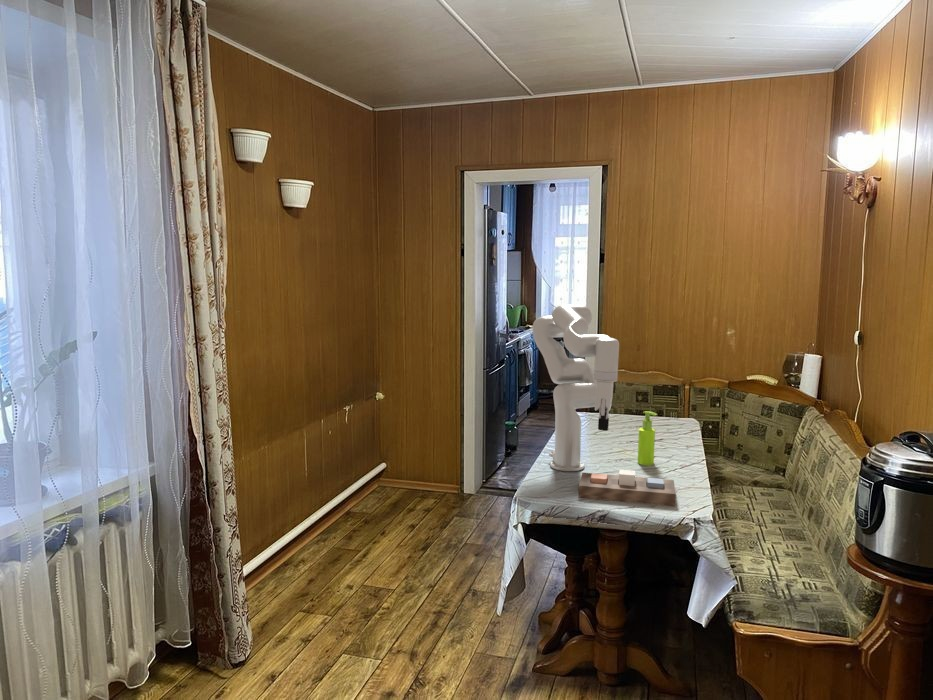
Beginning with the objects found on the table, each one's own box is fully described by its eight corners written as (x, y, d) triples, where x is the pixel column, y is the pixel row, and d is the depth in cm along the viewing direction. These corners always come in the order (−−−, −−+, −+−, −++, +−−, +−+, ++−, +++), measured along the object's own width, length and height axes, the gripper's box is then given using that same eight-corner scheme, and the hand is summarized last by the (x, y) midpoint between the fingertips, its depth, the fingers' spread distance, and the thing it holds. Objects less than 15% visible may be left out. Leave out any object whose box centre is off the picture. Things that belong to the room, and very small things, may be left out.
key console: (578, 497, 216) (578, 485, 216) (582, 483, 230) (582, 472, 229) (675, 506, 209) (675, 494, 208) (673, 491, 222) (673, 480, 222)
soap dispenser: (649, 466, 249) (651, 414, 246) (634, 462, 254) (636, 411, 252) (659, 464, 252) (661, 412, 250) (644, 459, 258) (646, 409, 255)
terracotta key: (590, 489, 219) (590, 477, 219) (591, 484, 224) (591, 473, 224) (606, 490, 218) (606, 479, 218) (606, 486, 223) (607, 474, 222)
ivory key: (618, 486, 217) (619, 474, 216) (619, 481, 222) (619, 469, 221) (634, 487, 216) (635, 475, 215) (634, 482, 220) (635, 470, 220)
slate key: (647, 494, 215) (647, 482, 214) (647, 489, 220) (647, 477, 219) (663, 495, 214) (663, 483, 213) (662, 490, 218) (663, 479, 218)
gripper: (596, 370, 227) (594, 423, 230) (591, 379, 213) (589, 434, 216) (619, 372, 225) (616, 425, 228) (615, 380, 211) (613, 436, 214)
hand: (603, 429), depth 222 cm, fingers closed
